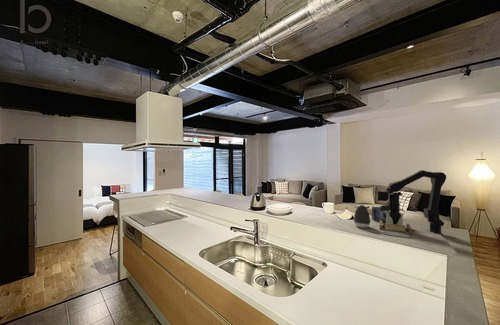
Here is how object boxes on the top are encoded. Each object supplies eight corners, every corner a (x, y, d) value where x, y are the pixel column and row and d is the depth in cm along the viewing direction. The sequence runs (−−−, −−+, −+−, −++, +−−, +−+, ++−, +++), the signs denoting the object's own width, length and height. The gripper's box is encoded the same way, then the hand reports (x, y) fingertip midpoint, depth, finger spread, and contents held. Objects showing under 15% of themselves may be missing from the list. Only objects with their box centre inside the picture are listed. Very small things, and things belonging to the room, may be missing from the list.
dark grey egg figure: (373, 229, 140) (373, 206, 140) (358, 229, 140) (358, 206, 140) (365, 224, 150) (365, 203, 150) (351, 224, 150) (351, 203, 150)
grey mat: (383, 231, 135) (383, 230, 135) (408, 235, 128) (408, 234, 128) (383, 234, 129) (383, 233, 129) (410, 238, 122) (410, 237, 122)
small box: (373, 221, 157) (373, 207, 157) (371, 219, 164) (371, 206, 164) (389, 223, 154) (389, 208, 154) (386, 220, 160) (386, 207, 160)
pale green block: (386, 226, 146) (386, 212, 146) (402, 228, 141) (402, 213, 141) (386, 227, 143) (386, 213, 143) (402, 229, 138) (402, 214, 138)
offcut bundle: (385, 229, 139) (385, 223, 139) (405, 232, 134) (405, 225, 134) (385, 230, 138) (385, 223, 138) (405, 233, 132) (405, 226, 132)
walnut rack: (379, 224, 151) (379, 220, 151) (409, 228, 142) (409, 223, 142) (379, 230, 138) (379, 225, 138) (412, 234, 129) (412, 229, 129)
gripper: (380, 198, 154) (380, 219, 154) (380, 202, 138) (380, 226, 138) (398, 199, 148) (398, 221, 148) (401, 204, 132) (401, 228, 132)
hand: (394, 224), depth 142 cm, fingers open, 6 cm apart
